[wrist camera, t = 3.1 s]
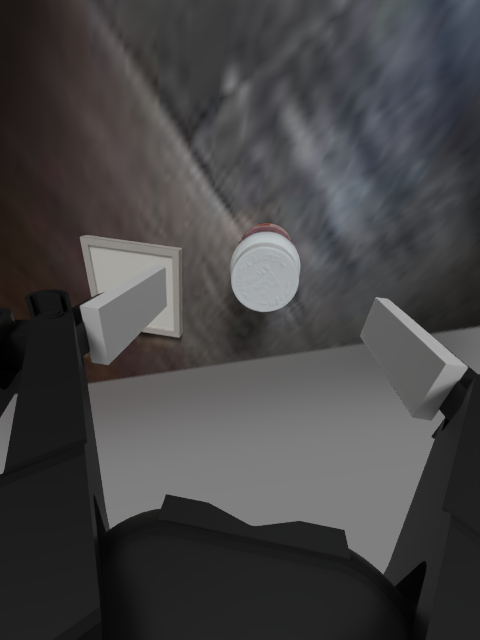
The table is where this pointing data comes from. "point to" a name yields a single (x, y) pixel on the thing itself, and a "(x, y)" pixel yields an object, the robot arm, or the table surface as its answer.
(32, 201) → the table surface
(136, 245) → the coaster
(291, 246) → the pill bottle
